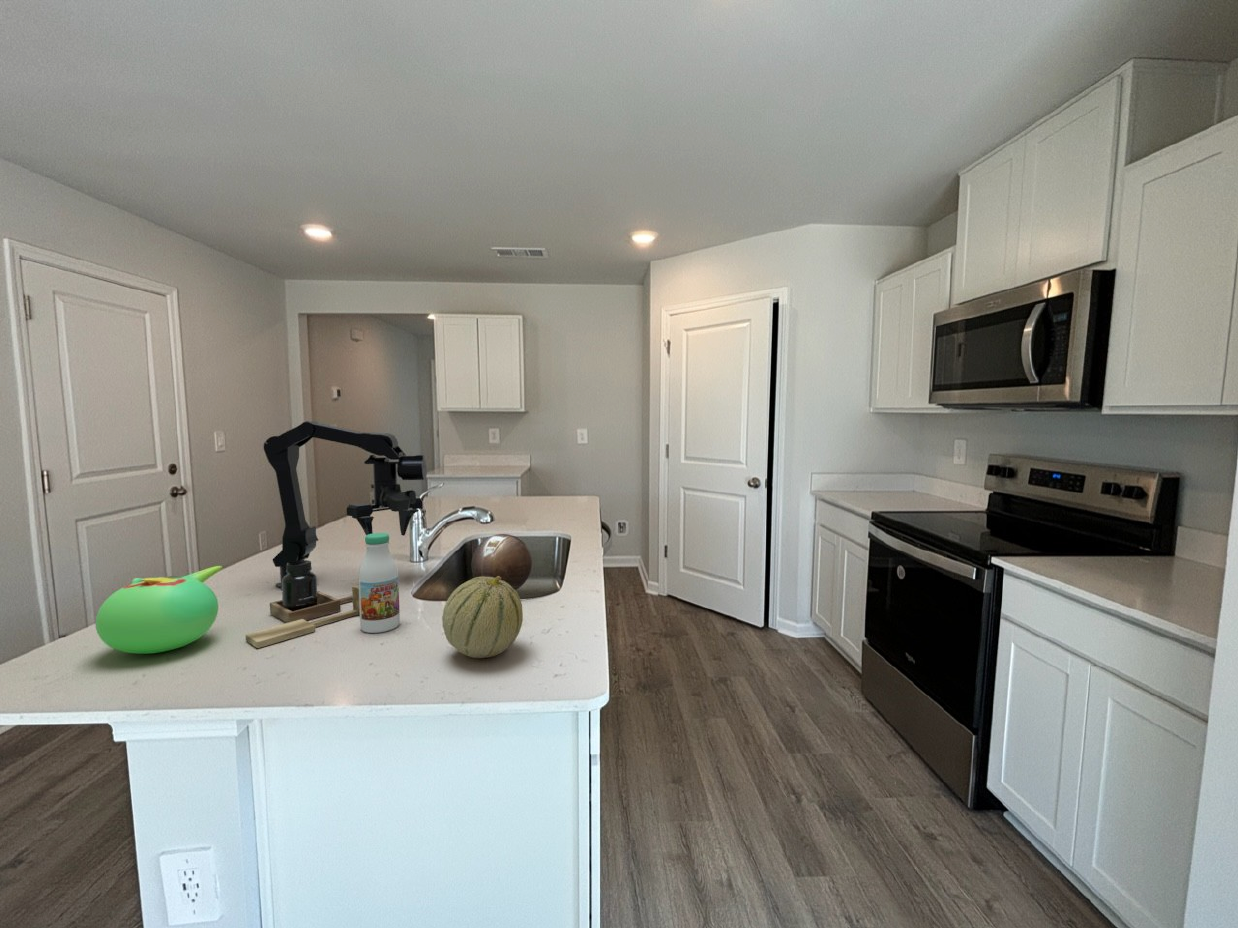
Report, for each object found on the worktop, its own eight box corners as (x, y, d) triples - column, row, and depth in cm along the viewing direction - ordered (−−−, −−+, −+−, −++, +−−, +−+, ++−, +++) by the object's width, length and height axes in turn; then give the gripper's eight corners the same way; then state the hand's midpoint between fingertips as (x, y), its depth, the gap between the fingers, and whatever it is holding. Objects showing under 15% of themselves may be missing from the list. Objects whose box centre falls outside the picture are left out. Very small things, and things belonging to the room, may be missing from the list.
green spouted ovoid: (76, 673, 94) (69, 591, 93) (134, 635, 111) (128, 565, 109) (197, 661, 99) (192, 582, 98) (235, 626, 115) (231, 559, 114)
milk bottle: (352, 629, 114) (348, 536, 112) (383, 617, 121) (380, 529, 119) (377, 636, 110) (373, 540, 109) (407, 624, 117) (405, 533, 115)
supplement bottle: (306, 620, 119) (303, 567, 118) (276, 619, 119) (273, 566, 118) (324, 609, 126) (322, 558, 125) (295, 608, 126) (293, 558, 125)
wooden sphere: (463, 602, 131) (462, 541, 130) (481, 582, 146) (480, 528, 145) (525, 603, 131) (524, 541, 129) (537, 583, 146) (536, 528, 144)
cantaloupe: (441, 644, 107) (439, 569, 106) (516, 633, 112) (515, 562, 111) (445, 677, 93) (443, 592, 92) (530, 664, 98) (529, 583, 97)
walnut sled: (270, 613, 122) (268, 587, 122) (372, 587, 141) (371, 564, 141) (290, 624, 116) (289, 597, 115) (394, 595, 135) (393, 572, 134)
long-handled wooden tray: (245, 640, 108) (243, 610, 107) (362, 607, 127) (361, 582, 126) (257, 648, 104) (255, 617, 104) (376, 612, 123) (375, 587, 123)
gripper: (366, 486, 132) (369, 549, 133) (433, 479, 147) (435, 536, 148) (344, 483, 139) (346, 543, 140) (410, 476, 154) (412, 531, 155)
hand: (387, 538), depth 146 cm, fingers open, 9 cm apart
